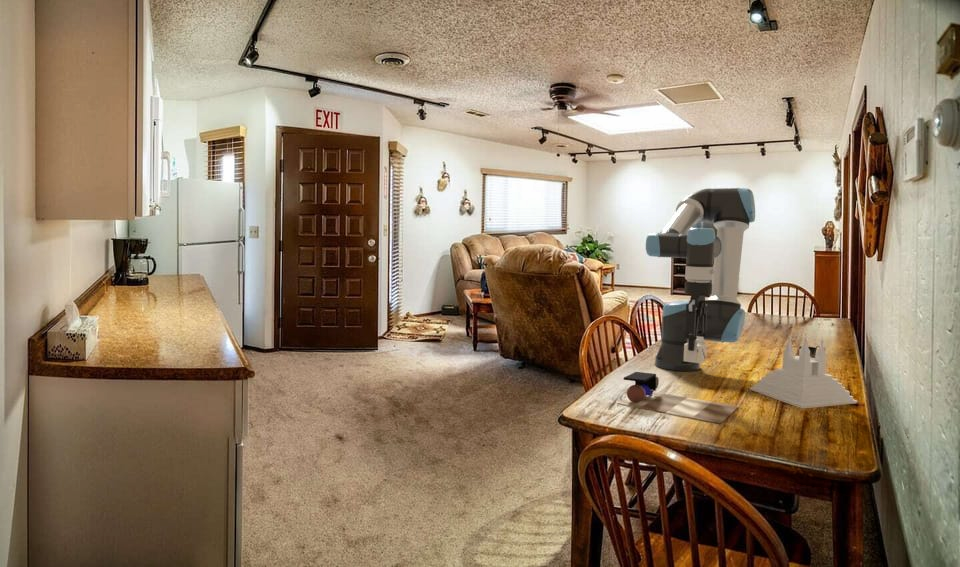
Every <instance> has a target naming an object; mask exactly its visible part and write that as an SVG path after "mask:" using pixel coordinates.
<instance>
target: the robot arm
mask: <svg viewBox="0 0 960 567" xmlns="http://www.w3.org/2000/svg"><path fill="white" fill-rule="evenodd" d="M755 221H756V204H755V196H754V192H753V191H752V189H750V188H745V187H743V188H740V187H734V188H727V187H726V188H722V187H721V188H704V189H698V190H696V191H693V192H692V193H689V194H688V195H686V196H685V197H683V199H681V200H680V201H679V203H678V204H677V206H676V208H675V212H674V214H672V217H671V218H670V219H669V221H667V223H666V224H665V226H664V227H663V228H662V230H661V231H660V232H651V233H649V234H647V236H646V239H645V251H646V254H647V255H648V256H649V257H656V258H672V259H673V258H675V259H677V258H678V259H686V261H685V262H686V263H685V273H684V274H685V275H684V279H685V280H686V281H685V282H684V294H685V295H690V299H689V300H679V301H671V302H667V303H665V304H664V305H663V307H662V315H661V318H662V319H661V336H660V337H661V338H660V339H661V340H660V341H661V342H660V346H659V348H658V351H657V353H656V356H655V360H654V365H655V366H656V367H658V368H661V369H666V370H670V371H671V370H672V371H680V372H681V371H682V372H686V371H687V372H688V371H689V372H691V371H693V372H694V371H697V370H699V369H701V368H700V366H701V363H693V362H697V345H698V343H704V341H711V342H719V343H729V344H731V343H733V344H734V343H736V342H738V341H739V339H740V337H741V335H742V332H743V330H744V324H745V318H746V311H745V310H744V308H741V306H742V304H741V302H739V300H738V298H737V297H738V290H739V281H740V272H741V271H740V270H741V262H742V250H743V245H744V244H743V243H744V235H745V234H744V232H746V231H747V230H748V229H749V228H750V223H753V222H755ZM700 222H713V227H714V228H715V229H716V230H717V231H716V230H715V229H714V228H712V227H711V228H710V227H694V225H696V224H698V223H700ZM706 296H707V298H706ZM708 296H709V297H708ZM686 343H687V360H686V361H691V362H686V361H684V344H686Z"/></svg>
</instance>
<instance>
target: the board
mask: <svg viewBox="0 0 960 567" xmlns="http://www.w3.org/2000/svg"><path fill="white" fill-rule="evenodd" d="M616 405H621V406H626V407H631V408H636V409H641V410H647V411H652V412H656V413H662V414H667V415H672V416H677V417H681V418H687V419H692V420H697V421H701V422H707V423H711V424H717V425H721V424H723V422H724V421H725V420H727V419H728V418H729V417H730V416H731V415H732V414H733V413H734V412H736V410H738V409H739V406H736V405H730V404H726V403H719V402H714V401H707V400H702V399H697V398H691V397H686V396H685V397H684V396H681V395H676V394H675V395H674V394H671V393H669V394H668V393H663V392H658V391H654V392H653V394H651V395H649V396H648V395H646V396H645V398H644V400H643V401H641V402H638V403H635V402H632V401H630V400H629V399H628V397H627V396H626V397H625V398H622V399H621V400H619V401H617V402H616Z"/></svg>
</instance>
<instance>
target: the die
mask: <svg viewBox="0 0 960 567" xmlns="http://www.w3.org/2000/svg"><path fill="white" fill-rule="evenodd" d="M686 360H687V343H686V344H684V361H686ZM705 361H707V343H704V342H703V343H698V345H697V362H693V363H700V364H703V363H705ZM686 362H691V361H686Z"/></svg>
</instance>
